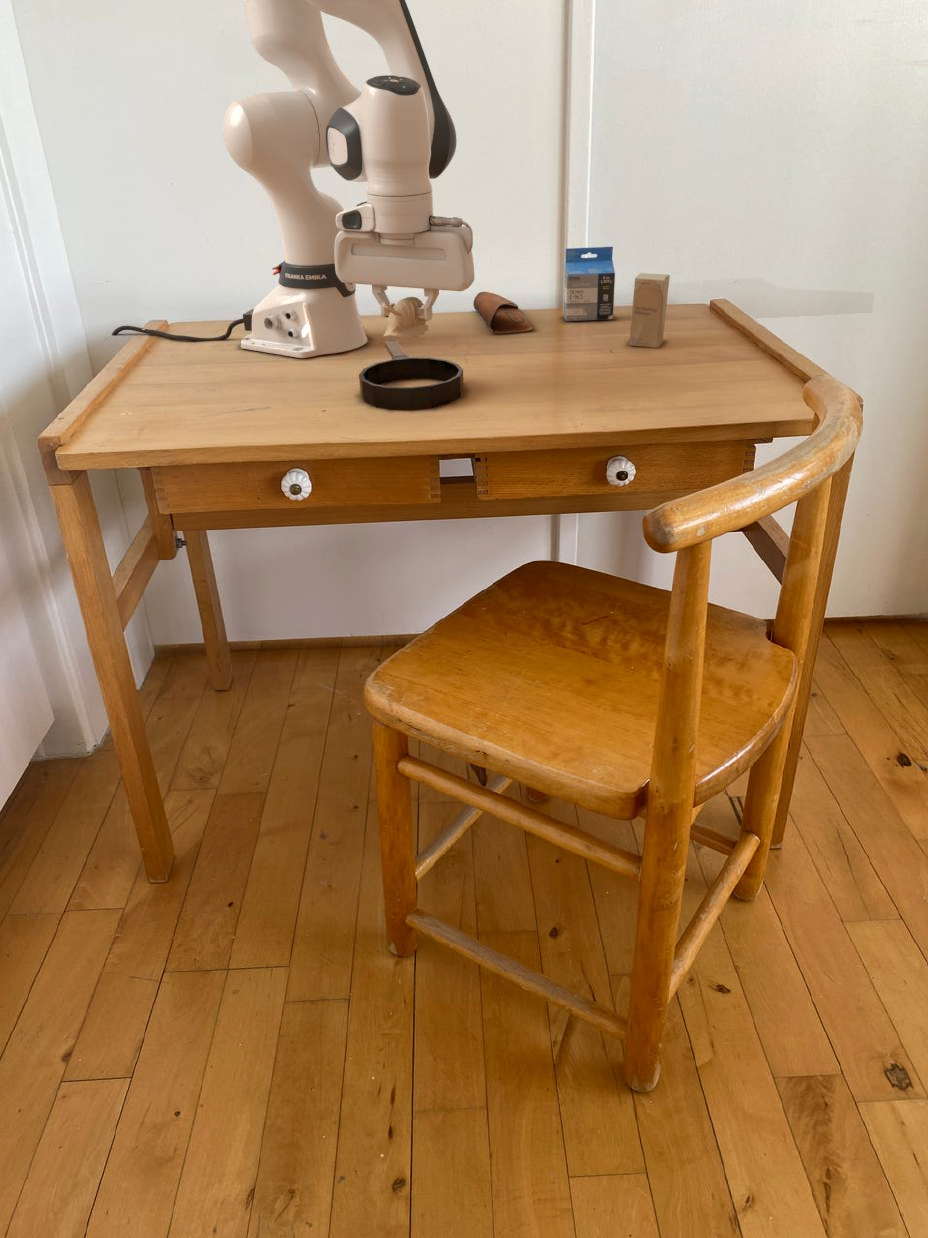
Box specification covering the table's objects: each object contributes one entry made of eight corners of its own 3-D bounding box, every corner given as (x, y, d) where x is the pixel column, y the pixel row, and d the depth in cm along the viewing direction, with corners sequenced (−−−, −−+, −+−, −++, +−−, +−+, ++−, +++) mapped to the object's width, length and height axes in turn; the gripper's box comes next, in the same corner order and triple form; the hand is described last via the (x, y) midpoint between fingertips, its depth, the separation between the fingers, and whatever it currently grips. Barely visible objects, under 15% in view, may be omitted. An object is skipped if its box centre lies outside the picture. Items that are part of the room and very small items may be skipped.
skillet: (473, 403, 133) (473, 381, 132) (369, 414, 131) (367, 392, 129) (436, 355, 155) (435, 336, 153) (346, 364, 152) (344, 345, 150)
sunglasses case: (537, 328, 165) (518, 296, 162) (504, 351, 167) (485, 320, 163) (515, 305, 181) (497, 276, 177) (485, 326, 182) (467, 298, 178)
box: (628, 345, 156) (632, 277, 150) (634, 339, 159) (638, 272, 153) (659, 348, 154) (665, 278, 148) (664, 341, 157) (670, 273, 151)
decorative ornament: (436, 331, 135) (435, 294, 132) (391, 343, 130) (388, 305, 127) (419, 326, 137) (417, 289, 135) (374, 338, 133) (371, 300, 130)
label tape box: (565, 322, 170) (567, 251, 164) (563, 316, 174) (564, 247, 167) (613, 320, 170) (616, 249, 164) (610, 315, 174) (613, 245, 167)
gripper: (480, 213, 124) (481, 317, 132) (346, 207, 131) (354, 307, 138) (463, 222, 120) (465, 329, 127) (324, 215, 126) (334, 318, 134)
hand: (406, 318), depth 133 cm, fingers closed on decorative ornament, 4 cm apart
